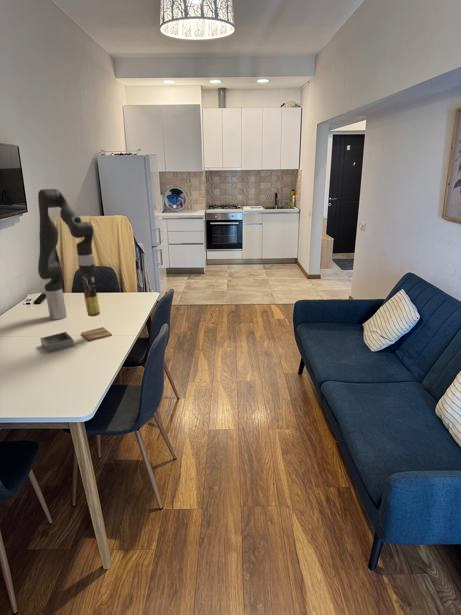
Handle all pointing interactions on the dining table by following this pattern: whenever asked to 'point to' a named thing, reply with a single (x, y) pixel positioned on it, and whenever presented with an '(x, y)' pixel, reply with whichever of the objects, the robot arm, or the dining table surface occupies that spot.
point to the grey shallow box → (57, 342)
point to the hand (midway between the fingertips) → (90, 295)
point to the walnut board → (96, 334)
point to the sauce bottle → (91, 302)
